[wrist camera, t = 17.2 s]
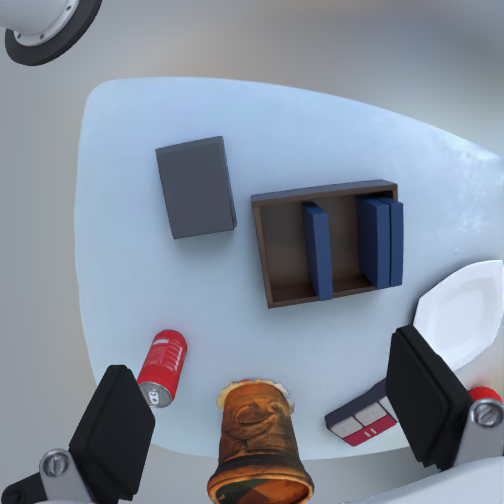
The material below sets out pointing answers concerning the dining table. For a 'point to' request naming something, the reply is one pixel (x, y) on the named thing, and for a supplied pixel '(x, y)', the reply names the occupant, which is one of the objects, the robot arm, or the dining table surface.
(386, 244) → the blue books
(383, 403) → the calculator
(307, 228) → the blue book
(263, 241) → the book box
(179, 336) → the beverage can
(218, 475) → the vessel
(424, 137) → the dining table surface
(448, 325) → the plate
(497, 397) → the tomato
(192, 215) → the grey books
